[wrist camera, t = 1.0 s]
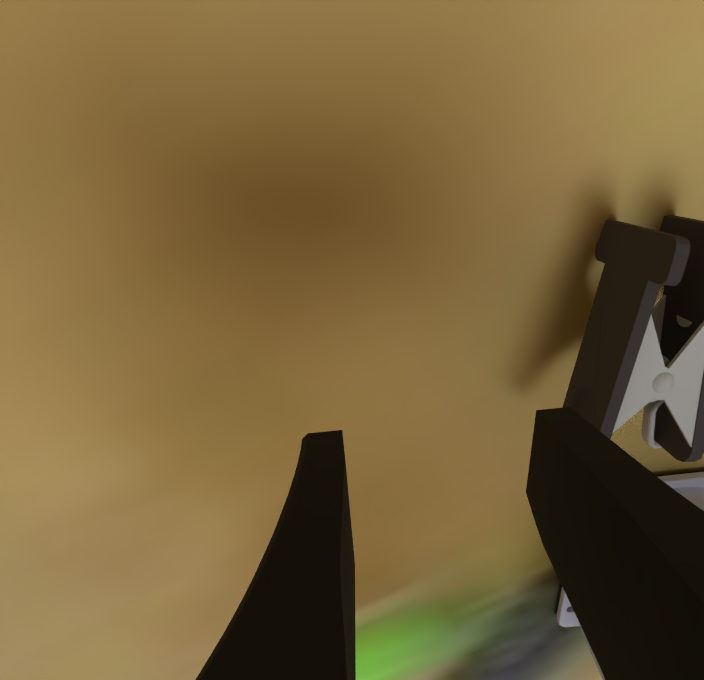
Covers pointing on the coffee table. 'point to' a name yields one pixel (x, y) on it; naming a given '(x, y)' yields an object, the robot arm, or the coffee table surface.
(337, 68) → the coffee table surface
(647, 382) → the clip-on lamp
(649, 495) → the robot arm
